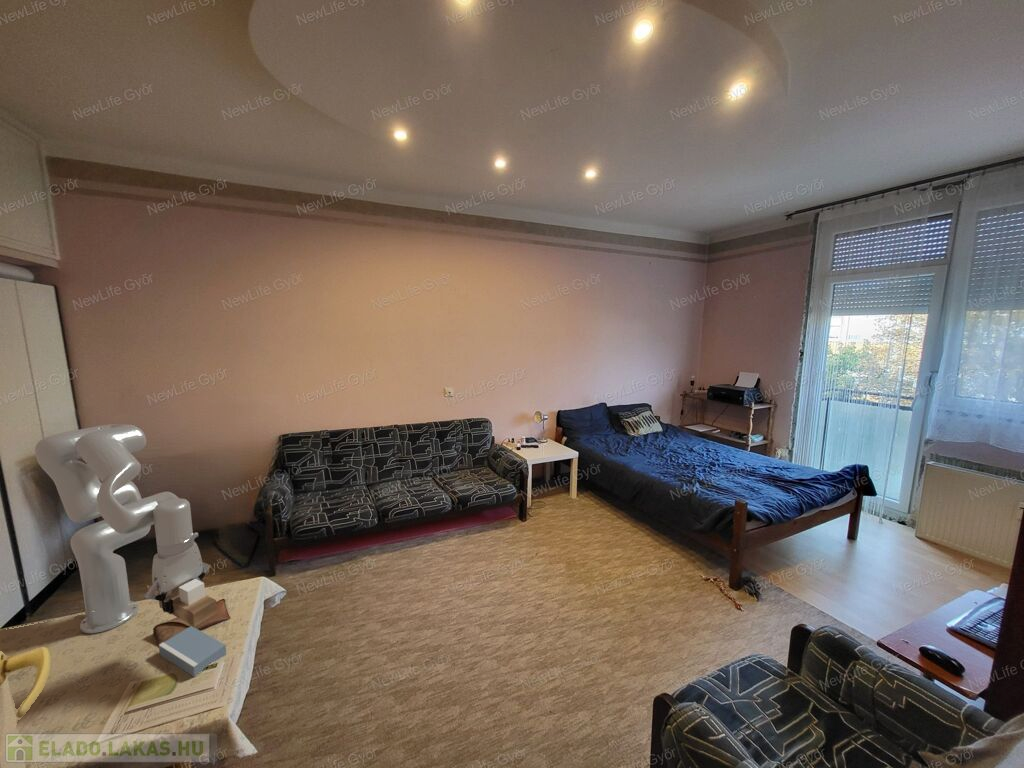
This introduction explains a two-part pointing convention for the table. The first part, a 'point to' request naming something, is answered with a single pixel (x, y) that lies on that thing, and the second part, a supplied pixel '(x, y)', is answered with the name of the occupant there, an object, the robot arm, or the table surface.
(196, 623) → the curved wooden block
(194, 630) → the block
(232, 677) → the table surface
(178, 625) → the sunglasses case
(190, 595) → the small white cube
